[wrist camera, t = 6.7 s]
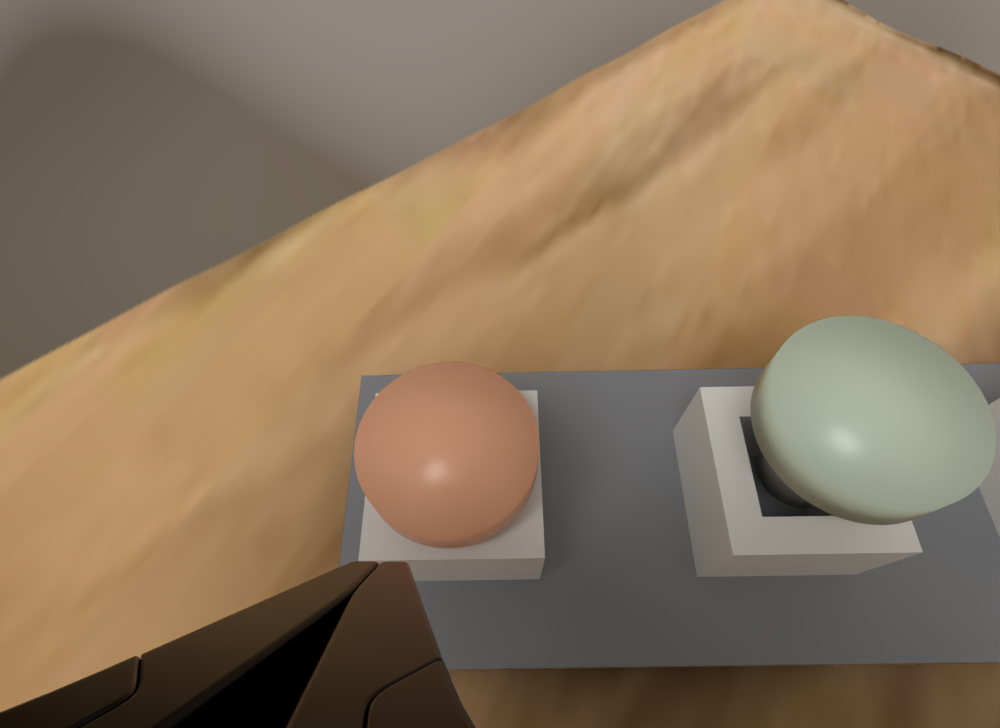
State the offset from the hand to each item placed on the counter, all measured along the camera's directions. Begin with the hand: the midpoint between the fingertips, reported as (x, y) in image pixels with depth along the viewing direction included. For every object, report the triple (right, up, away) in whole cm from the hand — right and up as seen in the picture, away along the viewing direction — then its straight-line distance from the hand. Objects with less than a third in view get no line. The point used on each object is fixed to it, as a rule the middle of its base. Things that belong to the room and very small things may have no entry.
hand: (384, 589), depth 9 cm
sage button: (+10, 0, +9) cm, 13 cm away
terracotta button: (0, -1, +11) cm, 11 cm away
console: (+10, -2, +12) cm, 16 cm away
